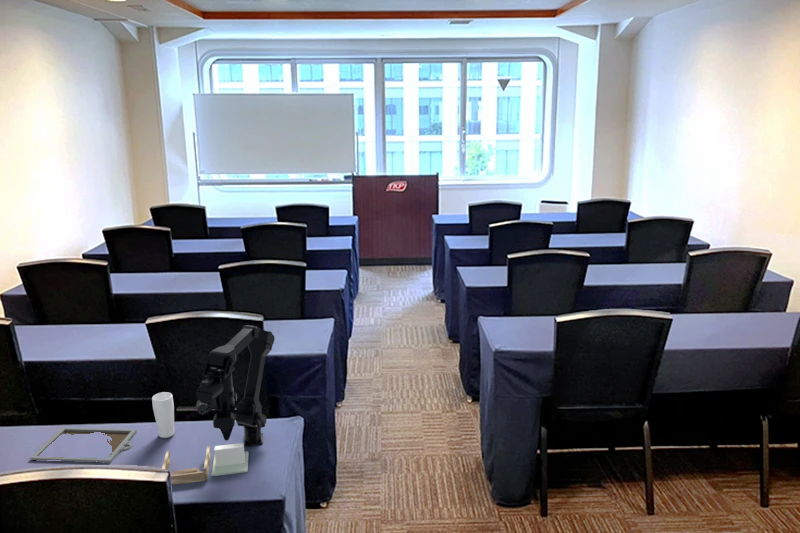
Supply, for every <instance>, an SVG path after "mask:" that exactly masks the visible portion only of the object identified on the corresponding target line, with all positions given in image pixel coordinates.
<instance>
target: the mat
mask: <svg viewBox="0 0 800 533" xmlns="http://www.w3.org/2000/svg"><path fill="white" fill-rule="evenodd" d="M244 454H245V463H241V464H233V465H224V466H216V461H215V454H214V455H213V462H212V471H211V477H218V476H225V475H235V474H242V473H248V471H249V470H248V469H249V451H244Z"/></svg>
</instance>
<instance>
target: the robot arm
mask: <svg viewBox="0 0 800 533" xmlns="http://www.w3.org/2000/svg"><path fill="white" fill-rule="evenodd" d="M275 340H276V339H275V335H273V332H272V331H269V330H265V329H262V328H260V327H258V326H257V325H256V326H255V325H249V324H248V325H247V324H246V325H243V326H242V327H241V330H240V331H239V332H238V333H236V335H234V337H232V338H231V339H230V340H229V341H228V342H227V343H226V344H224V345H221V346H218V347H216V348H214V349H212V350H211V351H210V352H209V353H208V355H207V359H206V362H205V366H204V369H203V372H202V376H203V377H207V378H206V379H204V380H202V381H200V386H198V387H197V388H196V391H195V396H196V398H197V401H196V405H195V408H196V410H197V414H200V415H202V416H203V415H204V414H206V413H209V412H211V411H213V412H219V413H216V414H214V416H213V419H212V425H213V428H214V429H219V430H220V432H221V434H222V437H223V439H224V441H229V440H230V437H231V434H232V432H233V429H234V427H235V422H236V424H237V426H238V427H243V431H244V432H243V433H244V435H243V443H244V447H247V446H256V445H263V444H264V433H263V432H262V428H265V427H266V424H267V419H268V418H267V416H266V415H265V414H263V413H262V410H263V408H262V404H261V402H260V399H259V398H260V391H261V386H262V381H263V375H264V370H265V369H264V368H265V362H266V357H267V356H268V355H269V353H270V352H271V351H272V349H273V345H274V343H275ZM246 347H247V348H248V350H249V352H250V361H249V365H248V366H249V367H248V373H247V379H246V384H245V390H244V397H243V398H242V399H241V400H240V401H238V400H237V399H238V396H237V395H238V394H237V392H236V391H234V390H235V388H234V385H233V382H234V381H233V374H232V373H233V372H234V371H235V369H236V367H234V365H235V364H236V362H237V357H238V355H239V354H240V353H241V352H242V351H243V350H244V349H246ZM211 369H212V370H211ZM237 401H238V402H237Z"/></svg>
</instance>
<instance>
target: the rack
mask: <svg viewBox="0 0 800 533" xmlns="http://www.w3.org/2000/svg"><path fill="white" fill-rule="evenodd" d="M211 452H212V451H211V445H207V446H206V452H205V459H204V466H203V471H200V470H199V471H200V472H192V473H183V474H175V475H173V474H170V475H171V482H172V485H171V486H173V485H174V486H175V485H183V484H190V483H198V482H205V481H207V480H208V478H209V472H210V464H211V459H212V455H211ZM170 464H171V454H170V450H169V449H168V450H166V452H165V456H164V459H163V462H162V466H161V470H162V469H165V470H168V471H169V468H170Z"/></svg>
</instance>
